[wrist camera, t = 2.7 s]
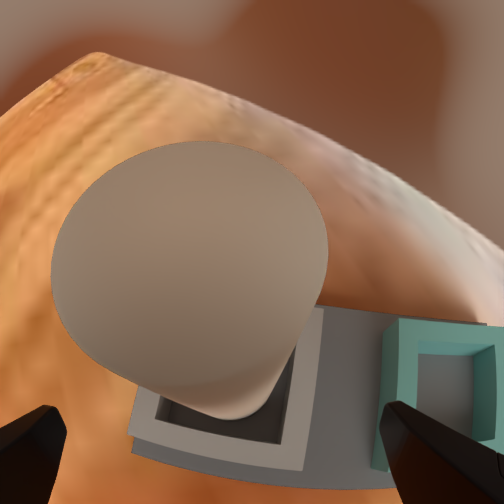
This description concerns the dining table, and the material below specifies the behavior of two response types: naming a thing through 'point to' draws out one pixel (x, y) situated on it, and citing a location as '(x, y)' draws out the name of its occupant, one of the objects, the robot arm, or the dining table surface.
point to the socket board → (339, 402)
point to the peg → (192, 273)
